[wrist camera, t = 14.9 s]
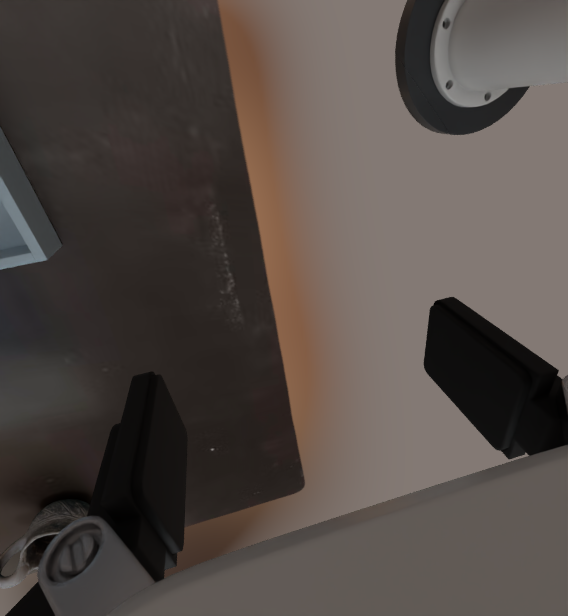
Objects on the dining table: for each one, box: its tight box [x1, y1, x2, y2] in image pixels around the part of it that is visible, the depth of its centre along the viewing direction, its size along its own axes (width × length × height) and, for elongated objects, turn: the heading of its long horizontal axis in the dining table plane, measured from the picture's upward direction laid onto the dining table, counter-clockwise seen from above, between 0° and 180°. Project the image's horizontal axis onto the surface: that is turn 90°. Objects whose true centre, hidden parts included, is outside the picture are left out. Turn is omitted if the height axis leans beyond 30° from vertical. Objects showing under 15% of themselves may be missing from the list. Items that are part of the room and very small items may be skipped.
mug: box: [0, 499, 90, 588], centre depth 51 cm, size 10×12×10 cm
